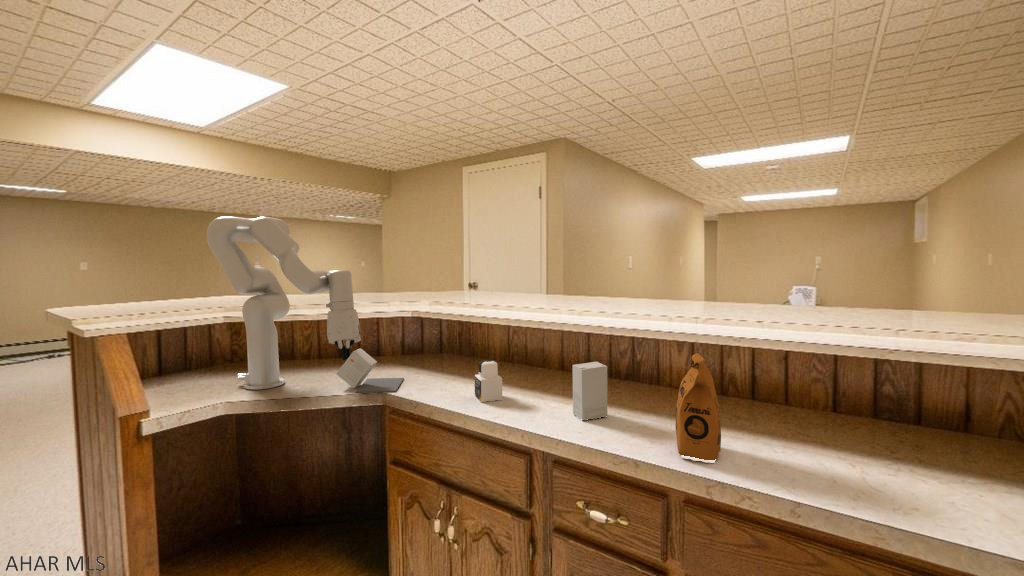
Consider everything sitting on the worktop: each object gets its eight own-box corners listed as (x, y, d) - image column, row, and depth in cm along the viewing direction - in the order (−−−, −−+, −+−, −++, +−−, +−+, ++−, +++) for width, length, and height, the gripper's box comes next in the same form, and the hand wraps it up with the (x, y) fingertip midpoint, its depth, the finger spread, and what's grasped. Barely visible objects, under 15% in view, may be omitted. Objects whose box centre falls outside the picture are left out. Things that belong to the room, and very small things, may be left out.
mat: (355, 392, 154) (355, 391, 154) (367, 379, 170) (367, 378, 170) (395, 392, 155) (395, 390, 155) (403, 379, 170) (403, 377, 170)
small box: (360, 384, 164) (378, 362, 163) (353, 389, 158) (371, 365, 157) (343, 370, 164) (360, 347, 163) (335, 373, 159) (353, 350, 157)
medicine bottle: (474, 396, 150) (474, 359, 149) (495, 393, 152) (495, 357, 151) (480, 402, 143) (480, 364, 142) (502, 400, 146) (502, 362, 145)
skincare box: (597, 411, 135) (597, 360, 134) (608, 418, 129) (609, 365, 128) (571, 415, 132) (571, 363, 131) (581, 422, 126) (582, 368, 125)
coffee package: (671, 459, 103) (673, 361, 102) (676, 439, 115) (678, 350, 113) (720, 467, 99) (723, 365, 98) (720, 445, 111) (723, 354, 109)
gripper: (315, 308, 155) (320, 363, 156) (361, 306, 156) (365, 360, 157) (323, 306, 162) (327, 358, 164) (367, 303, 163) (371, 355, 164)
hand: (346, 359), depth 160 cm, fingers closed
